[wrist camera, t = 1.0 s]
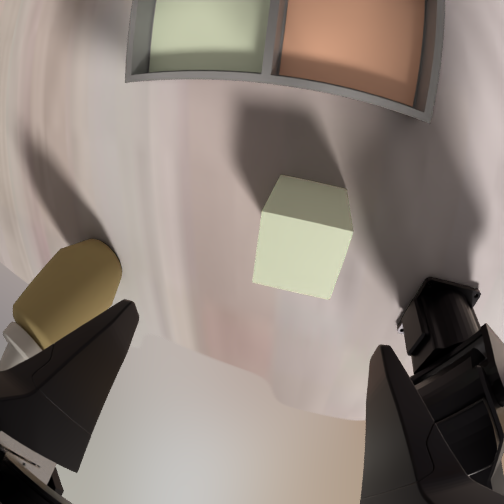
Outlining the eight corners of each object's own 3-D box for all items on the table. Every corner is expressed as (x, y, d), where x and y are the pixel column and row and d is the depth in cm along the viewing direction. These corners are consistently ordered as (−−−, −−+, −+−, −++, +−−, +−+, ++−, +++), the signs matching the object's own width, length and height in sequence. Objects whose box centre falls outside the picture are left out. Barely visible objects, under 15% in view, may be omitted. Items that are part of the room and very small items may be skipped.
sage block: (346, 188, 18) (353, 231, 13) (331, 244, 20) (329, 300, 15) (280, 174, 18) (261, 211, 13) (271, 231, 21) (252, 282, 16)
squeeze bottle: (74, 218, 26) (-45, 328, 11) (130, 243, 25) (5, 388, 11) (82, 272, 30) (-6, 376, 16) (133, 299, 30) (45, 424, 15)
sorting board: (431, -5, 8) (444, -15, 6) (416, 118, 14) (430, 123, 12) (158, -28, 11) (139, -37, 9) (146, 80, 16) (124, 82, 14)
